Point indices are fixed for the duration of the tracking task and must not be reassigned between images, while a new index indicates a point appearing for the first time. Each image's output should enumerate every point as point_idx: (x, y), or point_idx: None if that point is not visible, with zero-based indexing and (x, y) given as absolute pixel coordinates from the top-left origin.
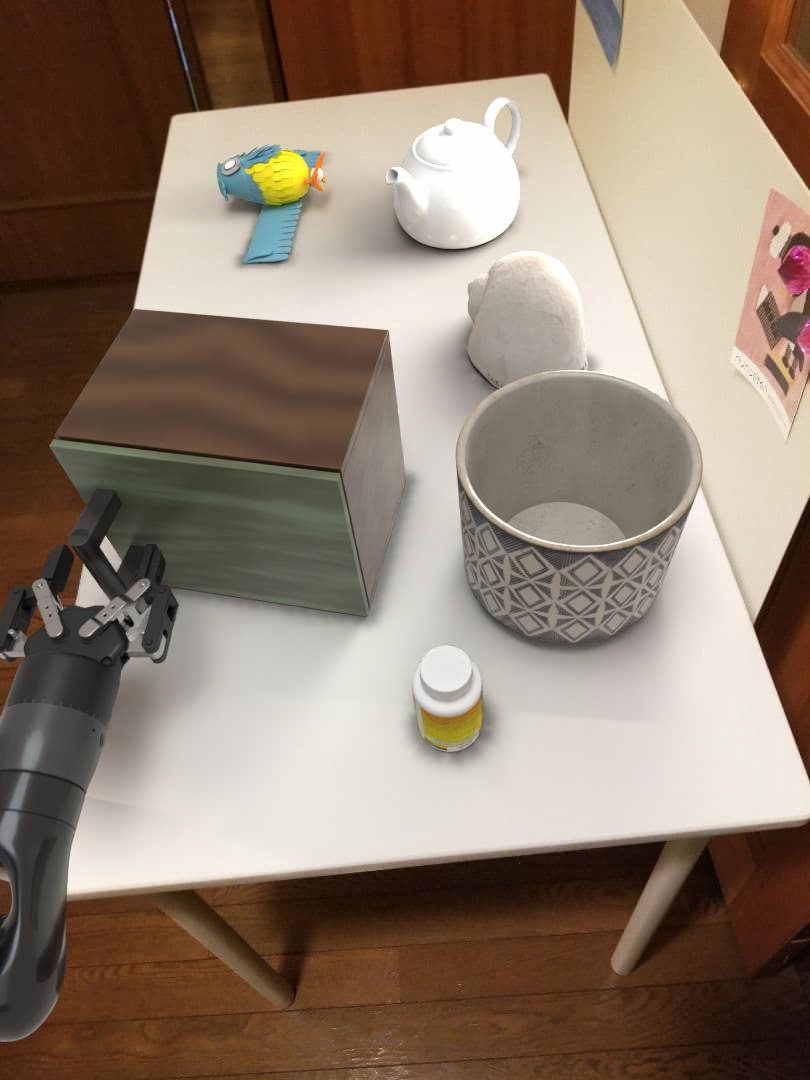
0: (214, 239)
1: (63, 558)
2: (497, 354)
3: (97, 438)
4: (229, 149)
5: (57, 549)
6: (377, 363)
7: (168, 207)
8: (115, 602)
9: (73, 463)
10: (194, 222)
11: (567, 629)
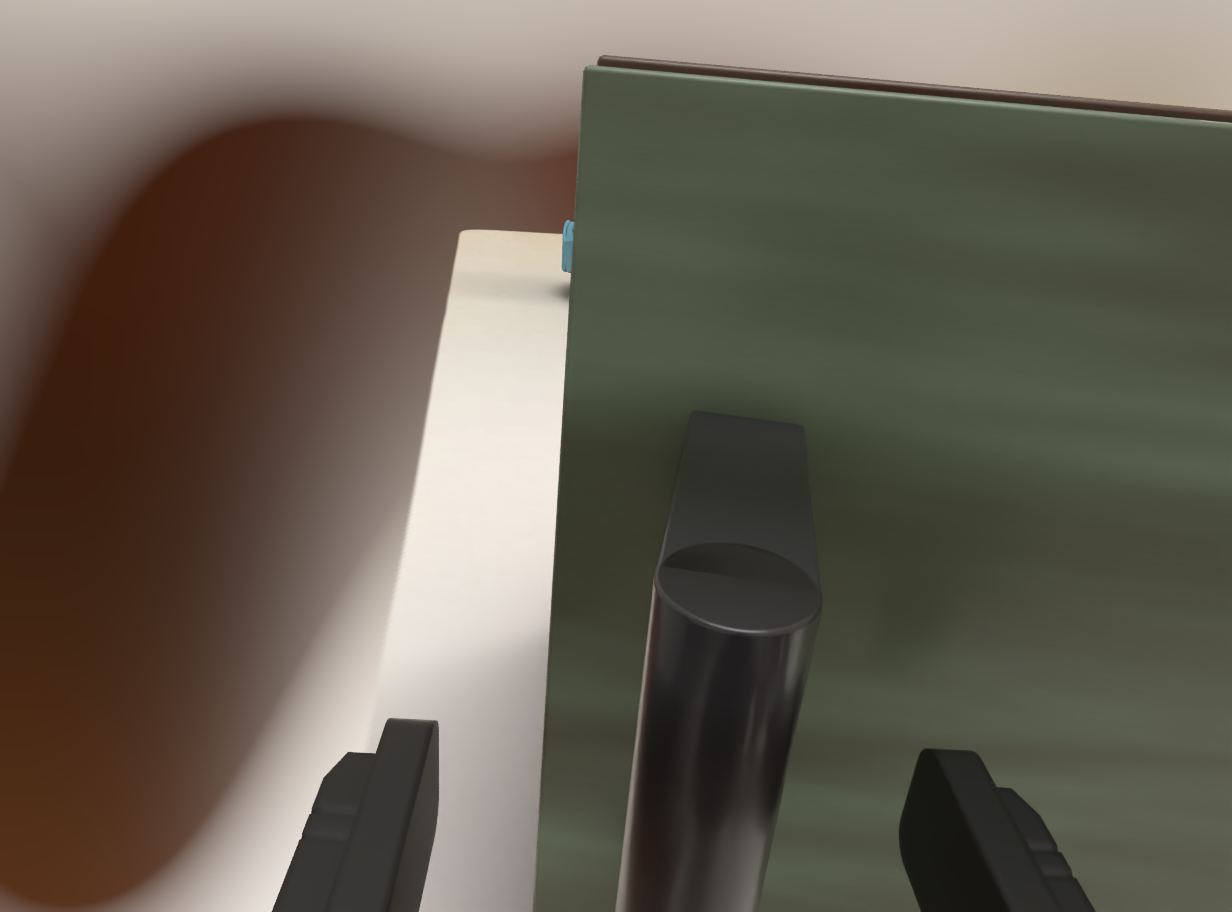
0: (548, 317)
1: (421, 804)
2: None
3: (851, 78)
4: (541, 255)
5: (398, 740)
6: None
7: (459, 285)
8: None
9: (663, 213)
10: (508, 300)
11: None
